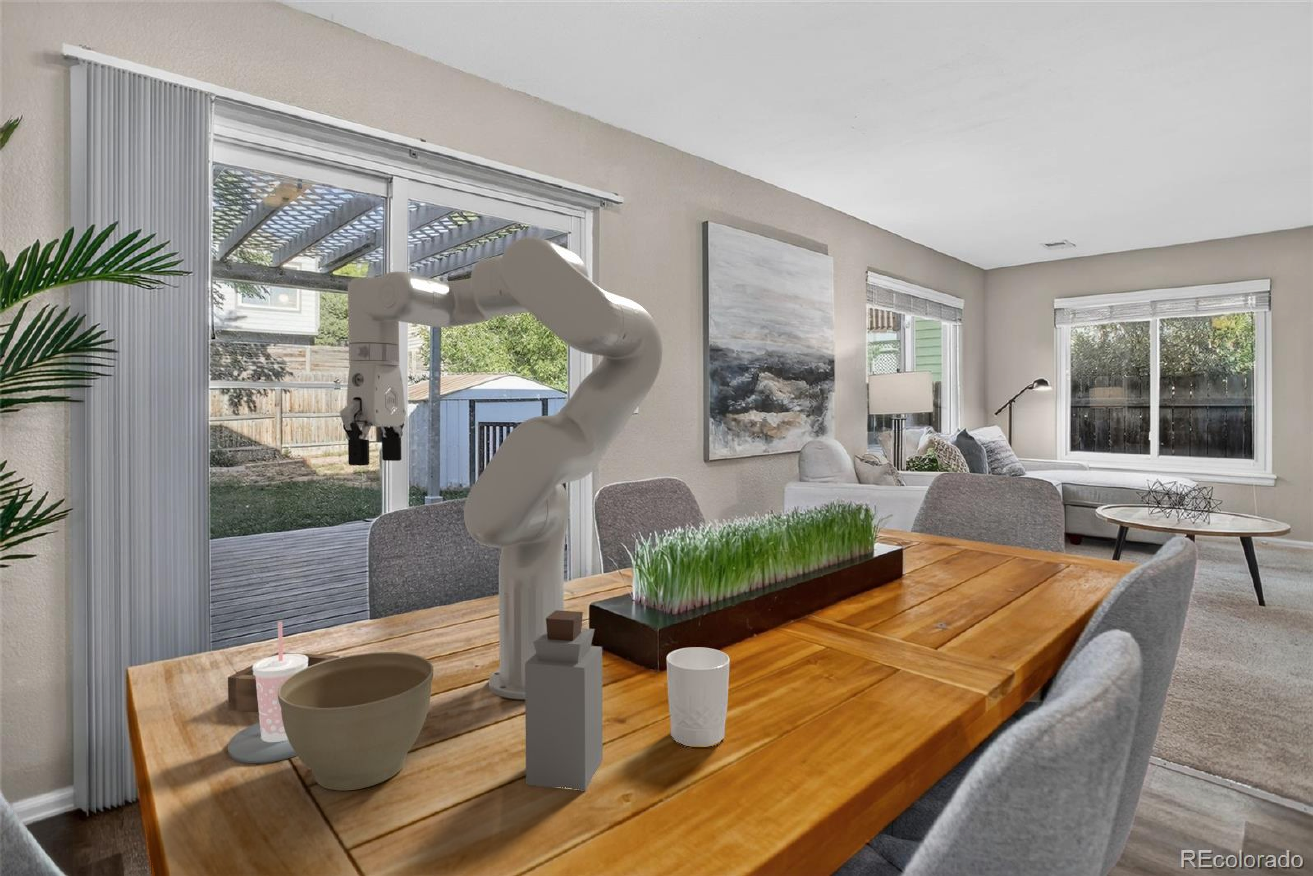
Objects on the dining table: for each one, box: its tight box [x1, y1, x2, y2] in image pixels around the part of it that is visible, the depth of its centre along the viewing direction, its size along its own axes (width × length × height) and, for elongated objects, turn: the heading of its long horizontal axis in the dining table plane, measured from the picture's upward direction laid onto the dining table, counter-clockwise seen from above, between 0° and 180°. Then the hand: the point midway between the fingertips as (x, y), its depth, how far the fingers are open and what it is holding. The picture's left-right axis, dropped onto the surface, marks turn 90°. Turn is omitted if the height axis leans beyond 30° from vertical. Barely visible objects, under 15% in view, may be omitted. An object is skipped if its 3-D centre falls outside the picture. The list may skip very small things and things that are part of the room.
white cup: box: [666, 646, 730, 747], centre depth 88 cm, size 8×8×10 cm
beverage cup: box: [252, 621, 308, 742], centre depth 87 cm, size 6×6×14 cm
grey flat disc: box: [227, 722, 298, 764], centre depth 87 cm, size 11×11×1 cm
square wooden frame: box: [227, 652, 340, 713], centre depth 100 cm, size 10×10×4 cm
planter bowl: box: [278, 651, 434, 791], centre depth 80 cm, size 16×16×11 cm
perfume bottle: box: [524, 610, 604, 792], centre depth 79 cm, size 7×7×18 cm
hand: (376, 462), depth 114 cm, fingers open, 9 cm apart
